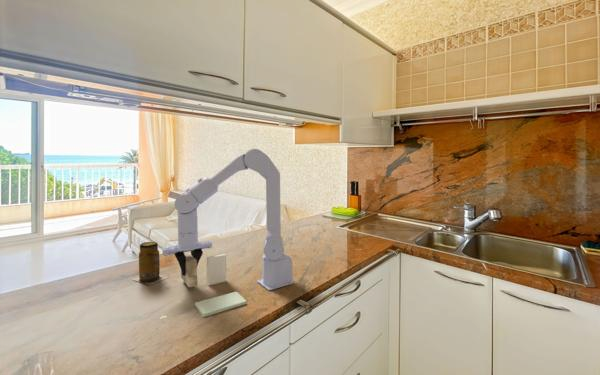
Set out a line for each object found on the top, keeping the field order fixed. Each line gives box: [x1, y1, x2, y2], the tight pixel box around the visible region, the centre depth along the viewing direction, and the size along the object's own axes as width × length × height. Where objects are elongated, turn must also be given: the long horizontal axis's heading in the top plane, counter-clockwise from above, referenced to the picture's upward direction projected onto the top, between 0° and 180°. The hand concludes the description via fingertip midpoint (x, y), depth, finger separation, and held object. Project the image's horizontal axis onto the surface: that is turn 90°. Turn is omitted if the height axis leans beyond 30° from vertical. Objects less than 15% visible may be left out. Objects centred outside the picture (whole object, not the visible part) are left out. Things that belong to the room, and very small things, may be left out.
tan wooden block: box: [180, 251, 198, 288], centre depth 88 cm, size 2×9×8 cm, turn 37°
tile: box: [206, 253, 227, 286], centre depth 91 cm, size 6×1×9 cm, turn 126°
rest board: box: [194, 291, 248, 318], centre depth 77 cm, size 12×7×1 cm, turn 126°
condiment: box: [132, 241, 169, 286], centre depth 92 cm, size 7×8×12 cm
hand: (188, 273), depth 88 cm, fingers closed on tan wooden block, 2 cm apart
